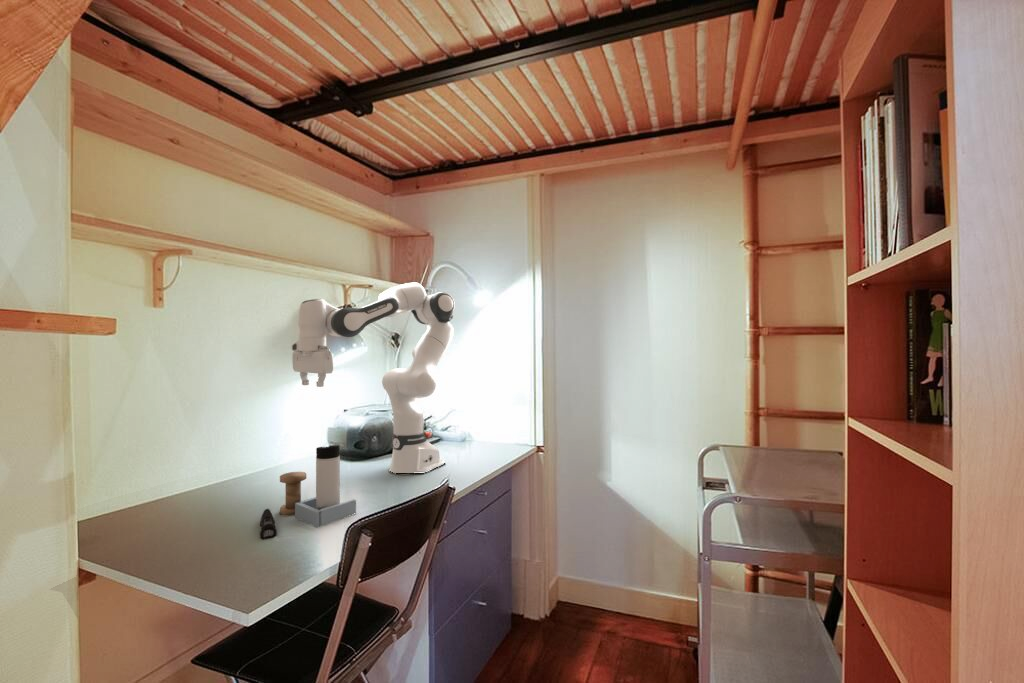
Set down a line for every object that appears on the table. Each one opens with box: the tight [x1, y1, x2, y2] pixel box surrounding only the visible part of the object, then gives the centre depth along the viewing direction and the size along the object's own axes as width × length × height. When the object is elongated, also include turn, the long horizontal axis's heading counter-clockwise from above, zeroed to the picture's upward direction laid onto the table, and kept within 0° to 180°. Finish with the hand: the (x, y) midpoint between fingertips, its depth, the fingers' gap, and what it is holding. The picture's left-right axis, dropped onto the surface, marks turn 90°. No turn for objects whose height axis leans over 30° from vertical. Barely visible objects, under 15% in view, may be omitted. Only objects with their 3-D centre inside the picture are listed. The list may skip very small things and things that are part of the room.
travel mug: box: [315, 444, 341, 510], centre depth 127 cm, size 6×7×20 cm
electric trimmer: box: [259, 508, 278, 540], centre depth 119 cm, size 4×16×3 cm, turn 30°
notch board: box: [294, 496, 357, 528], centre depth 127 cm, size 12×11×4 cm
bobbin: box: [279, 471, 307, 516], centre depth 130 cm, size 7×7×10 cm
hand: (312, 385), depth 154 cm, fingers open, 8 cm apart
